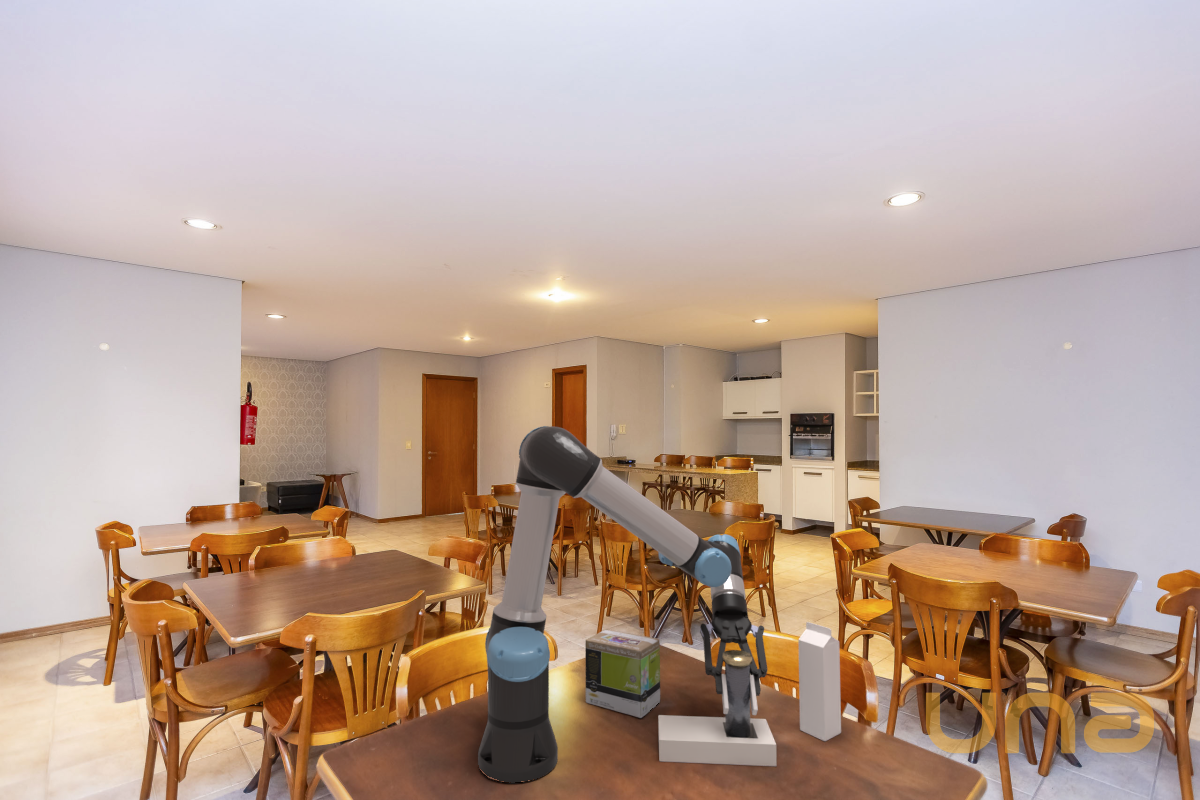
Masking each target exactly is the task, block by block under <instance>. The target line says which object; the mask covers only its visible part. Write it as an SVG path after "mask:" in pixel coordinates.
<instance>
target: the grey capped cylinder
mask: <svg viewBox="0 0 1200 800" xmlns="http://www.w3.org/2000/svg"><path fill="white" fill-rule="evenodd" d="M722 655H723V663H724V674H725V675H726V684H727V695H728V705H729V710H728V714H724V718H725V731H726V734H727V735H728V736H730V737H733V738H748V737H749V736H750V718H751V701H750V664H752V655H753V654H752V655H751V654H750V653H748V652H745V651H741V649H739V650H738V649H730V650H725V652H723V654H722Z"/></svg>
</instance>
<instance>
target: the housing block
mask: <svg viewBox="0 0 1200 800" xmlns="http://www.w3.org/2000/svg"><path fill="white" fill-rule="evenodd" d="M657 717H658V719H657V720H658V722H657V725H658V728H657V729H658V736H657V737H658V757H659V760H658V761H659V762H665V763H690V764H691V763H692V764H709V765H710V764H713V765H735V766H737V765H738V766H739V765H740V766H758V767H759V766H762V767H777V766H778V765H777V743H776V740H775V739H774V735H773V733H772V730H771V728H770V726H769V723H768V721H767V719H766V718H752V717H750V736H749V737H748V738H733V737H730V736H728V735H727V734H726V731H725V716H723V717H722V716H720V717H719V716H693V715H692V716H690V715H688V716H687V715H664V714H658V716H657Z"/></svg>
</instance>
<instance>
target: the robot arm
mask: <svg viewBox="0 0 1200 800" xmlns="http://www.w3.org/2000/svg"><path fill="white" fill-rule="evenodd" d="M518 457H519V463H518V469H517V474H516V479H515V485H516V487H517V488H518V490H520V497H519V503H518V508H517V515H516V520H515V525H514V530H513V537H512V543H511V549H510V553H509V559H508V566H507V571H506V577H505V583H504V589H503V592H502V593H503V594H502V599H501V602H500V603H498V604H497V605H495V606H494V607H493V610H492V616H491V620H490V626H489V628H488V632H487V633H486V636H485V643H484V644H485V646H484V647H485V648H484V649H485V653H486V664H487V723H486V726H485V729H484V732H483V736H482V739H481V742H480V746H479V748H478V753H477V766H478V765H479V768H480V769H481V770H482V771H483V772H484V773H485V774H486V775H487V776H489V777H492V778H494V779H497V780H499V781H504V782H509V783H508V784H516V783H515V782H521V781H528V780H532V781H534V780H533V779H535V780H538V779H541V778H542V776H543V777H545V776H546V775H548V774H549V773H550V772H552V771H553V769H555V767H556V766H557V764H558V760H559V759H558V758H559V757H558V748H559V747H558V742H557V739H556V736H555V733H554V730H553V726H552V724H551V720H550V717H549V712H550V711H549V706H550V705H549V704H550V702H549V701H550V698H549V696H550V693H549V692H550V691H549V689H550V687H549V686H550V682H549V681H550V679H549V678H550V675H549V673H550V672H549V670H550V669H549V668H550V665H549V664H550V657H551V653H550V645H549V641H548V639H547V637H546V635H545V634H544V633H545V627H546V620H547V614H546V613H545V611H544V610H543V608H542V603H543V597H544V592H545V587H546V581H547V580H546V579H547V574H548V568H549V563H550V557H551V556H550V555H551V550H552V544H553V540H554V533H555V527H556V522H557V515H558V510H559V504H560V499H561V498H562V497H563V496H564V495H565V494H567V495H568V496H570V497H572V498H573V499H577V498H582V499H583V500H584V501H586V502H587V503H589V504H590V505H592V506H593V507H594V508H596V509H597V510H599V511H600V512H602V514H604V515H606V516H607V517H609V518H610V519H612V520H613V521H615V523H618V525H620V527H623V528H624V529H626V530H627V531H628V532H630V533H631V534H632V535H634V536H636V537H637V538H638V539H639V540H641V541H642V542H644V543H645V544H647V545H648V546H650V547H651V548H652V549H653V550H655V551H657V552H658V559H659V560H660V562H661V563H662V564H665V565H668V566H670V567H676V568H678V569H681V570H682V571H683V572H685V573H687V575H689V576H691V577H693V578H694V579H695V580H696V581H698V582H699V583H700V584H702V585H704V586H707V587H709V589H710V597H711V610H712V611H711V612H712V613H711V614H712V620H711V622H710V623H708V624H705V623H702V624H701V623H700V628H699V633H700V636H701V638H702V640H703V641H702V642H703V652H704V656H703V657H704V669H705V675H707V676H712V677H713V678H714V679H715V680H714V681H715V692H716V694H717V695H721V699H722V710H723V711H722V712H723V714H724V715H725V714H728V710H729V705H728V695H727V684H726V675H725V673H722V671H723V665H724V661H723V655H722V654H723V652H725V651H726V647H727V644H731V643H734V644H737V645H738V646H739V650H740V651H745V652H748V653H750V654H751V655H752V664H750V710H751V715H752V716H757V714H758V711H759V709H758V701H757V697H759V696H760V694H761V691H762V690H761V689H762V688H761V684H760V683H761V682H760V678H765V677H767V673H768V664H767V663H768V662H767V658H766V651H765V650H766V649H765V643H764V637H763V636H764V632H765V627H764V625H758V626H756V625H754V624H752V622H751V620H750V619H749V614H748V607H747V605H748V604H747V600H746V591H745V583H744V576H743V575H744V574H743V568H742V567H743V566H742V555H741V551H740V547H739V543H738V541H737V540H736V538H734V537H733V536H732V535H729V534H725V533H724V534H715V535H712V536H711V537H709V538H708V540H705V539H703V538H702V537H701V536H698V534H696V533H695V532H693V531H692V530H691V529H689V528H688V527H687V526H685V525H684V524H682V522H680V521H679V520H677V519H676V518H675V517H673V516H672V515H670V514H669V513H668V512H666V511H665V510H663V509H662V508H661V507H660V506H658V505H656V504H655V503H654V502H652V501H651V500H649V499H648V498H647V497H645V496H644V495H643V494H642V493H640V492H639V491H637V490H636V489H635V488H633V487H631V485H629V484H628V483H626V482H625V481H624V480H622V479H621V478H620V477H618V476H617V475H615V474H614V473H613V472H612V471H610V470H609V469H608V468H606V467H604V465H603V460H602V458H601V457H599V456H598V455H597V454H595V453H594V452H592V451H591V450H590V449H589V448H588V447H586V445H584V443H582V441H580V440H579V439H578V438H577V437H576V436H575V435H574V434H572V432H570V431H568V430H567V429H566V428H564V427H563V428H562V427H559V426H551V425H550V426H549V425H547V426H546V425H544V426H538V427H536V428H534V429H531V431H530V432H528V433H527V434H526V435H525V436H524V438H523V439H522V441H521V443H520V445H519V450H518ZM712 631H713V632H714V633H715V634H716V635H717V637H718V638H719V639H720V642H719V646H718V653H717V659H716V666H713V657H712V649H711V648H712V647H711V635H712ZM750 632H751V633H752V636H753V637H754V638H755V649H756V655H757V656H756V657H757V662H758V667H757V663H756V661H755V659H754V656H753V653H752V651H751V648H750V646H749V645H750V644H749V643H748V638H747V636H748V635H749V633H750ZM479 768H478V769H479ZM540 777H541V778H540ZM537 778H538V779H537ZM510 782H511V783H510ZM528 782H529V781H528Z"/></svg>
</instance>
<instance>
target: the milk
mask: <svg viewBox="0 0 1200 800" xmlns="http://www.w3.org/2000/svg"><path fill="white" fill-rule="evenodd" d="M840 654H841V653H840V641H839V640H838V639H836V638H835V637H833V636H832V629H831V628H829V627H826V626H823V625H819V624H816V623H812V622H809V621H806V623H805V630H804V631H803V633H802V634H801V635H800V637H799V638H798V683H799V684H798V685H799V687H798V688H799V690H798V691H799V692H798V693H799V699H798V700H799V701H798V702H799V731H802V732H804V733H805V734H808V735H810V736H812V737H814V738H816V739H819V740H820V741H823V742H827V741H829V740H831V739H832V738H835V737H836V736H838V735H840V734H841V733H842V715H841V714H842V713H841V710H842V708H841V705H842V704H841V701H842V700H841V661H840V657H841V655H840Z"/></svg>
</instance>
